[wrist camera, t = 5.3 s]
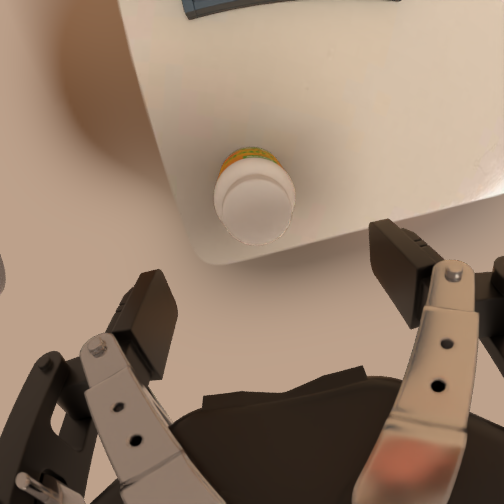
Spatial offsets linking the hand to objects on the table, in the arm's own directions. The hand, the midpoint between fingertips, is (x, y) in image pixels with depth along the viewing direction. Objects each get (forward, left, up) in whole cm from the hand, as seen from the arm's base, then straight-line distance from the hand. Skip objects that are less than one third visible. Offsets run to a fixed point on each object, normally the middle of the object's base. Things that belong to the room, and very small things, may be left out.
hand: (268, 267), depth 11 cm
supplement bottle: (0, 0, -16) cm, 16 cm away
